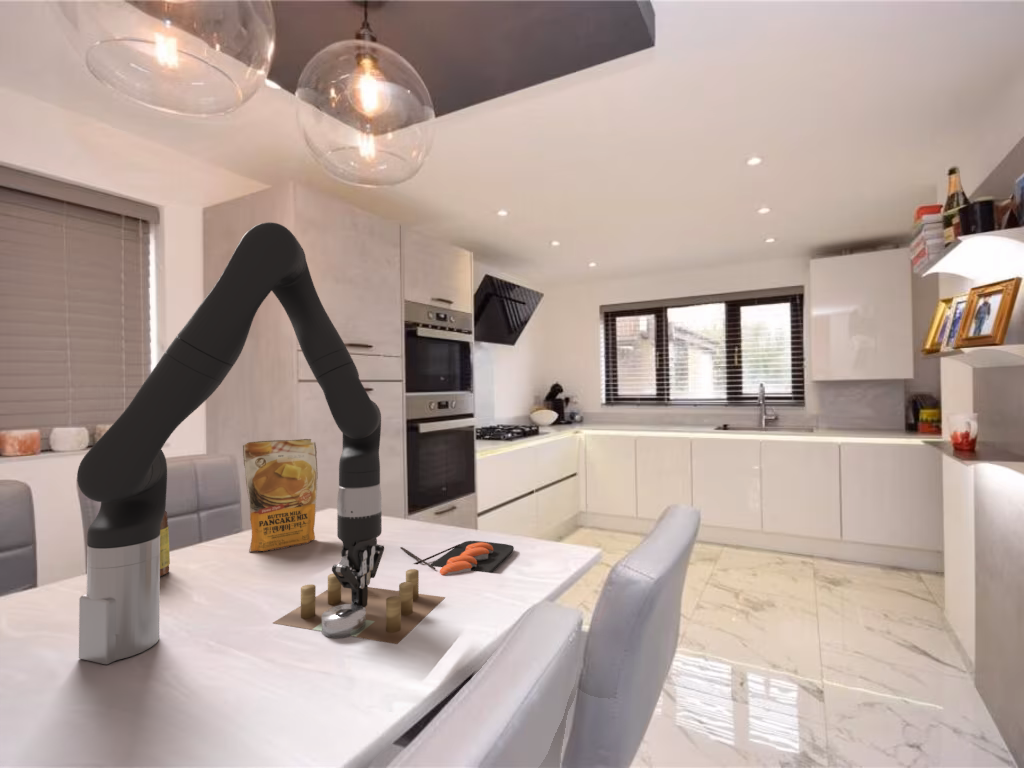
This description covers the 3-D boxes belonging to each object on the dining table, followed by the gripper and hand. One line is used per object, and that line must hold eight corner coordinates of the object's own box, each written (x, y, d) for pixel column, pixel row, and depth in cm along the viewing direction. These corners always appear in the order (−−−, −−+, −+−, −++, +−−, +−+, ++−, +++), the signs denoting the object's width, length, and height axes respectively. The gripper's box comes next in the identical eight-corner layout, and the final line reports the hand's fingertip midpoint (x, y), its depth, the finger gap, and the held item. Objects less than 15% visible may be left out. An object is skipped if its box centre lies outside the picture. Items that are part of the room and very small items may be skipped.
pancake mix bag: (239, 549, 127) (240, 441, 127) (315, 535, 139) (315, 437, 139) (244, 556, 122) (245, 443, 122) (322, 541, 134) (323, 438, 134)
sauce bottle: (164, 568, 113) (165, 482, 114) (173, 574, 109) (174, 485, 110) (129, 576, 108) (130, 486, 109) (137, 583, 104) (138, 490, 105)
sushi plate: (471, 597, 98) (471, 578, 98) (347, 578, 108) (347, 561, 108) (517, 552, 126) (517, 537, 126) (415, 540, 136) (415, 526, 136)
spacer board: (397, 653, 77) (397, 611, 77) (272, 631, 83) (272, 593, 84) (445, 605, 94) (445, 571, 94) (338, 590, 101) (338, 558, 101)
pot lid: (350, 640, 78) (350, 624, 78) (312, 634, 79) (312, 619, 79) (373, 620, 84) (373, 605, 84) (338, 615, 86) (338, 601, 86)
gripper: (355, 521, 80) (355, 627, 79) (397, 502, 92) (397, 595, 92) (317, 517, 82) (317, 621, 81) (362, 500, 94) (362, 590, 94)
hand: (359, 607), depth 87 cm, fingers closed
